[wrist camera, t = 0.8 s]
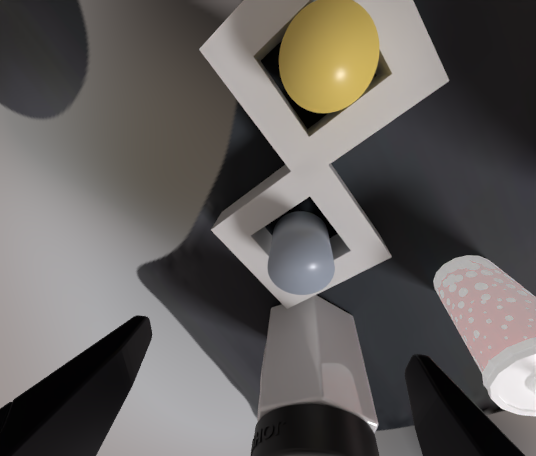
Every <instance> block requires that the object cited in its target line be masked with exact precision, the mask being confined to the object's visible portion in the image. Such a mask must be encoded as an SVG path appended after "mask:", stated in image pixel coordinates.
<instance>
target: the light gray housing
mask: <svg viewBox="0 0 536 456" xmlns="http://www.w3.org/2000/svg"><path fill="white" fill-rule="evenodd" d="M319 156H320V157H319ZM313 157H314V158H313ZM322 160H323V161H322ZM308 162H309V164H308ZM304 167H305V168H304ZM306 167H307V168H306ZM308 168H309V169H308ZM300 171H301V172H300ZM309 171H310V172H309ZM304 173H305V174H304ZM304 178H305V179H304ZM308 197H311V199H312V200H313V201H314V203H315V204H316V205H317V207H318V208H319V209H320V210H321V212H322V213H323V214H324V216H325V217H326V218H327V220H328V221H329V222H330V224H331V225H332V226H333V228H334V229H335V230H336V232H337V233H338V234H337V235H335V236H333V237H332V238H330V239H329V240H330V245H331V249H332V254H333V259H334V265H335V272H334V276H333V278H332V280H331V282H330V283H329V284H328V285H327V286H326V287H325V288H323V289H322V290H320V291H318V292H316V293H313V294H308V295H295V294H291V293H288V292H285V291H283V290H281V289H280V288H278V287H277V286H276V285H275V284H274V283H273V282H272V280H271V279H270V277H269V274H268V269H267V267H268V259H269V254H270V248H271V242H272V235H271V234H270V232H269V231H268V230H267V229H266V228H265V227H264V226H266V225H267V224H269V223H270V222H272V221H273V220H275V219H276V218H278V217H279V216H281V215H282V214H284V213H286V212H287V211H289V210H290V209H292V208H293V207H295V206H296V205H298V204H299V203H301V202H302V201H304V200H305V199H307V198H308ZM211 231H212V232H213V233H214V234H215V235H216V236H217V237H218V238H219V239H220V240H221V241H222V242H223V243H224V244H225V245H226V246H227V247H228V248H229V249H230V250H231V251H232V252H233V254H234V255H235V256H236V257H237V258H238V259H239V260H240V261H241V262H242V263H243V264H244V265H245V266H246V267H247V268H248V269H249V270H250V271H251V272H252V273H253V274H254V275H255V276H256V277H257V278H258V280H259V281H260V282H261V283H262V284H263V285H264V286H265V287H266V288H267V289H268V290H269V291H270V292H271V293H272V294H273V295H274V296H275V297H276V298H277V299H278V300H279V301H280V302H281V303H282V304H283V305H284V307H285V308H286V309H288V308H290V307H292V306H294V305H296V304H298V303H300V302H302V301H304V300H306V299H308V298H310V297H312V296H314V295H316V294H318V293H320V292H322V291H324V290H327V289H329V288H331V287H333V286H335V285H337V284H339V283H341V282H343V281H345V280H347V279H349V278H351V277H353V276H355V275H357V274H359V273H361V272H363V271H365V270H367V269H369V268H371V267H373V266H375V265H377V264H379V263H381V262H383V261H385V260H387V259H389V258H391V257H392V256H391V254H390V252H389V251H388V249H387V247H386V245H385V243H384V241H383V240H382V238H381V236H380V234H379V233H378V231H377V230H376V228H375V227H374V226H373V224H372V223H371V221H370V220H369V218H368V217H367V215H366V214H365V212H364V211H363V209H362V208H361V207H360V205H359V204H358V202H357V201H356V199H355V198H354V196H353V195H352V193H351V192H350V191H349V189H348V188H347V186H346V185H345V183H344V182H343V180H342V179H341V177H340V176H339V175H338V173H337V172H336V170H335V169H334V167H333V166H332V164H331V163H330V164H329V165H328V164H327V162H326V161H325V159H324V158H323V156H322V155H321V154H320V152H317V153H316V154H315V155H313V156H312V157H310V158H309V159H308V160H306V161H305V162H304V163H302V164H301V165H300V166H298V167H297V169H296V168H295V169H294V170H293V171H290V169H289V168H288V167H287V165H286V164H285V165H284V166H283V167H281V168H280V169H279V170H277V171H276V172H275V173H273V174H272V175H271V176H269V177H268V178H267V179H265V180H264V181H263V182H261V183H260V184H259V185H257V186H256V187H255V188H253V189H252V190H251V191H249V192H248V193H247V194H245V195H244V196H242V197H241V198H240V199H238V200H237V201H236V202H234V203H233V204H232V205H230V206H229V207H228V208H226V209H225V210H224V211H222V212H221V214H220V216H219V217H218V219H217V221H216V222H215V224H214V226H213V227H212V229H211Z"/></svg>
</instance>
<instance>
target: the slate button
mask: <svg viewBox="0 0 536 456" xmlns="http://www.w3.org/2000/svg"><path fill="white" fill-rule="evenodd" d="M267 269H268V274H269V277H270V279H271V280H272V282H273V283H274V284H275V285H276V286H277V287H278V288H280V289H281V290H283V291H285V292H288V293H291V294H295V295H308V294H313V293H316V292H318V291H320V290H322V289H323V288H325V287H326V286H327V285H328V284H329V283H330V282H331V280H332V278H333V276H334V272H335V265H334V259H333V254H332V249H331V245H330V240H329V235H328V230H327V227H326V225H325V223H324V222H323V221H322V219H320V218H319V217H318V216H316V215H314V214H312V213H309V212H305V211H297V212H292V213H289V214H287V215H285V216H283V217H282V218H281V219H280V220H279V221H278V222H277V223H276V225H275V227H274V231H273V236H272V242H271V248H270V254H269V259H268V267H267Z"/></svg>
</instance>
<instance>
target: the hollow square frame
mask: <svg viewBox="0 0 536 456" xmlns="http://www.w3.org/2000/svg"><path fill="white" fill-rule="evenodd" d="M314 1H316V0H243V1H242V2H241V3H240V4H239V6H238V7H237V8H236V9H235V10H234V11H233V12H232V13H231V14H230V16H229V17H228V18H227V19H226V20H225V21H224V22H223V23H222V24H221V26H220V27H219V28H218V29H217V30H216V31H215V32H214V33H213V34H212V36H211V37H210V38H209V39H208V40H207V41H206V42H205V43H204V44H203V46H202V47H201V48H200V49H199V50H200V51H201V53H202V54H203V55H204V57H205V58H206V59H207V61H208V62H209V63H210V65H211V66H212V67H213V69H214V70H215V71H216V73H217V74H218V75H219V77H220V78H221V79H222V81H223V82H224V83H225V85H226V86H227V87H228V88H229V90H230V91H231V93H233V95H234V97H235V98H236V99H237V101H238V102H239V103H240V105H241V106H242V107H243V108H244V110H245V111H246V112H247V114H248V115H249V116H250V118H251V119H252V120H253V122H254V123H255V124H256V126H257V127H258V128H259V130H260V131H261V132H262V134H263V135H264V136H265V138H266V139H267V140H268V142H269V143H270V144H271V146H272V147H273V148H274V150H275V151H276V152H277V154H278V155H279V156H280V157H281V159H282V160H283V161H284V163H285V164H286V165H287V167H288V168H289V169H290V171H293V170H294V169H295V168H296V169H297V167H298V166H300V165H301V164H302V163H304V162H305V161H306V160H308V159H309V158H310V157H312V156H313V155H315V154H316V153H317V152H320V154H321V155H322V156H323V158H324V159H325V161H326V162H327V164H328V165H329V164H330V163H332V162H333V161H335V160H336V159H338V158H339V157H341V156H342V155H343V154H345V153H346V152H348V151H349V150H351V149H352V148H353V147H355V146H356V145H358V144H359V143H361V142H362V141H364V140H365V139H366V138H368V137H369V136H371V135H372V134H374V133H375V132H377V131H378V130H379V129H381V128H382V127H384V126H385V125H387V124H388V123H389V122H391V121H392V120H394V119H395V118H397V117H398V116H400V115H401V114H402V113H404V112H405V111H407V110H408V109H410V108H411V107H413V106H414V105H415V104H417V103H418V102H420V101H421V100H423V99H424V98H425V97H427V96H428V95H430V94H431V93H433V92H434V91H436V90H437V89H438V88H440V87H441V86H443V85H444V84H446V83H447V82H448V81H449V79H448V77H447V74H446V72H445V70H444V68H443V65H442V63H441V61H440V59H439V57H438V54H437V52H436V50H435V48H434V46H433V43H432V41H431V39H430V37H429V34H428V32H427V30H426V28H425V26H424V23H423V21H422V19H421V17H420V15H419V12H418V10H417V8H416V6H415V4H414V1H413V0H353V1H355V2H356V3H358V4H360V5H361V6H362V7H363V8H364V9H365V10H366V11H367V12H368V14H369V15H370V16H371V18H372V20H373V21H374V24H375V26H376V29H377V32H378V37H379V50H380V51H379V60H378V65H377V68H376V71H375V73H376V75H377V76H376V77H374V78H373V79H372V81H371V82H370V84H369V86H368V87H367V89H366V90H365V92H364V93H363V94H362V95H361V96H360V97H359V98H358V99H357V100H356V101H355V102H354V103H352V104H351V105H349V106H348V107H346V108H344V109H342V110H339V111H336V112H332V113H328V114H327V115H325V116H324V117H323V118H322V119H320V120H319V121H318V122H316V123H315V124H314V125H313V126H311V127H310V128H309V129H307V128H306V126H305V125H304V123H303V122H302V121H301V119H300V118H299V116H298V115H297V113H296V112H295V110H294V109H293V107H292V106H291V105H290V103H289V102H288V100H287V99H286V97H285V96H284V94H283V93H282V91H281V90H280V89H279V87H278V86H277V84H276V83H275V81H274V80H273V78H272V77H271V75H270V74H269V72H268V71H267V70H266V68H265V67H264V65H263V64H262V62H261V60H262V59H263V58H264V57H265V56H266V55H267V54H268V53H269V52H270V51H271V50H272V49H273V48H274V47H275V46H276V45H277V44H279V43H280V42H281V41H282V39H283V37H284V34H285V32H286V30H287V28H288V26H289V24H290V23H291V22H292V20H293V19H294V17H295V16H296V15H297V14H298V13H299V12H300V11H301V10H302V9H303V8H305V7H306V6H307V5H309V4H310V3H312V2H314ZM319 157H320V156H319ZM313 158H314V157H313ZM322 161H323V160H322ZM308 164H309V162H308ZM304 168H305V167H304ZM306 168H307V167H306ZM308 169H309V168H308ZM300 172H301V171H300ZM309 172H310V171H309ZM304 174H305V173H304ZM304 179H305V178H304Z"/></svg>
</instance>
